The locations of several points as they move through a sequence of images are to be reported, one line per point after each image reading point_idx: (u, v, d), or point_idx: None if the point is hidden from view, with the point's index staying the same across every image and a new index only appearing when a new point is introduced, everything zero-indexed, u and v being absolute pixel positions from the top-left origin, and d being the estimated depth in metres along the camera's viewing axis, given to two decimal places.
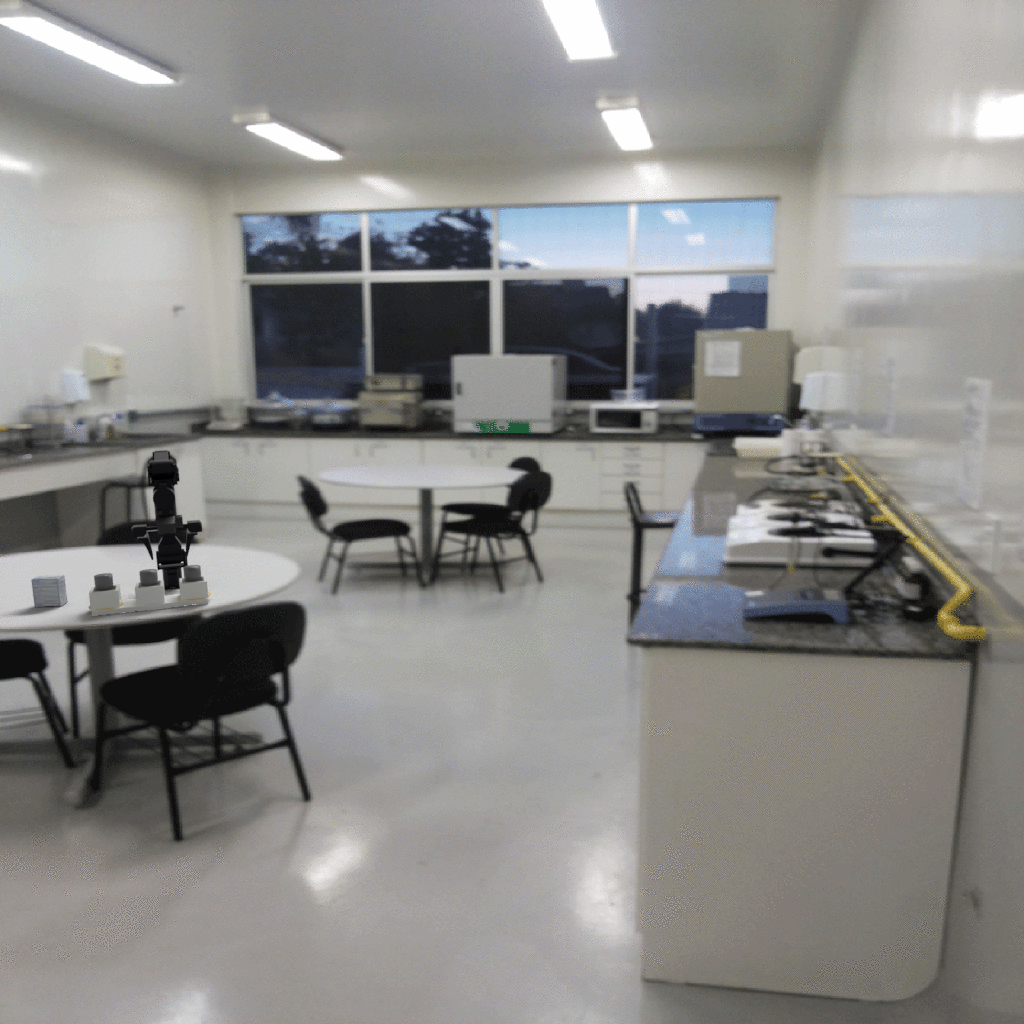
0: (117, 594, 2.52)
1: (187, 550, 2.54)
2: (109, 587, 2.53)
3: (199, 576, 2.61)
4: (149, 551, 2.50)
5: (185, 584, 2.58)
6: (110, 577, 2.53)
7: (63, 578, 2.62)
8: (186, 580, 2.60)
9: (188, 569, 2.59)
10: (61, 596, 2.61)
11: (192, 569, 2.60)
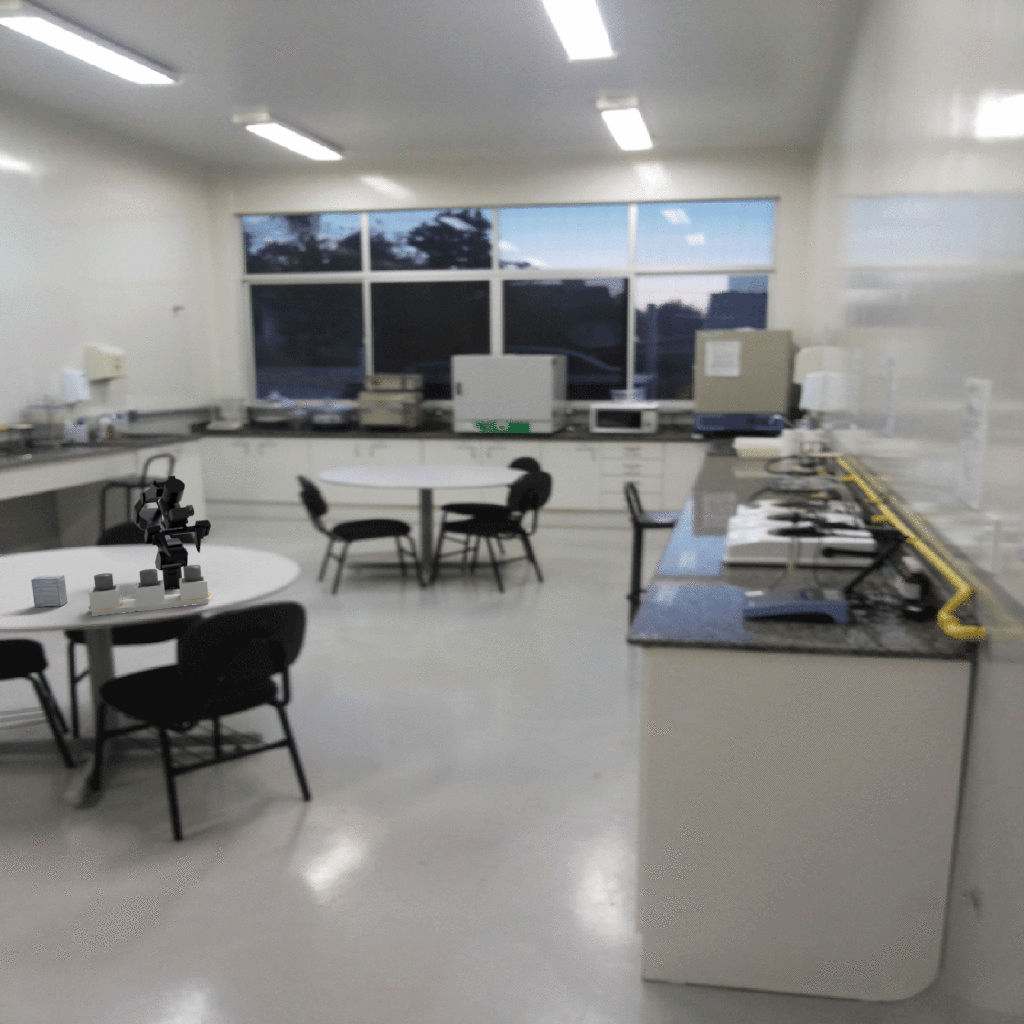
0: (117, 594, 2.52)
1: (199, 545, 2.69)
2: (109, 587, 2.53)
3: (199, 576, 2.61)
4: (166, 546, 2.64)
5: (185, 584, 2.58)
6: (110, 577, 2.53)
7: (63, 578, 2.62)
8: (186, 580, 2.60)
9: (188, 569, 2.59)
10: (61, 596, 2.61)
11: (192, 569, 2.60)
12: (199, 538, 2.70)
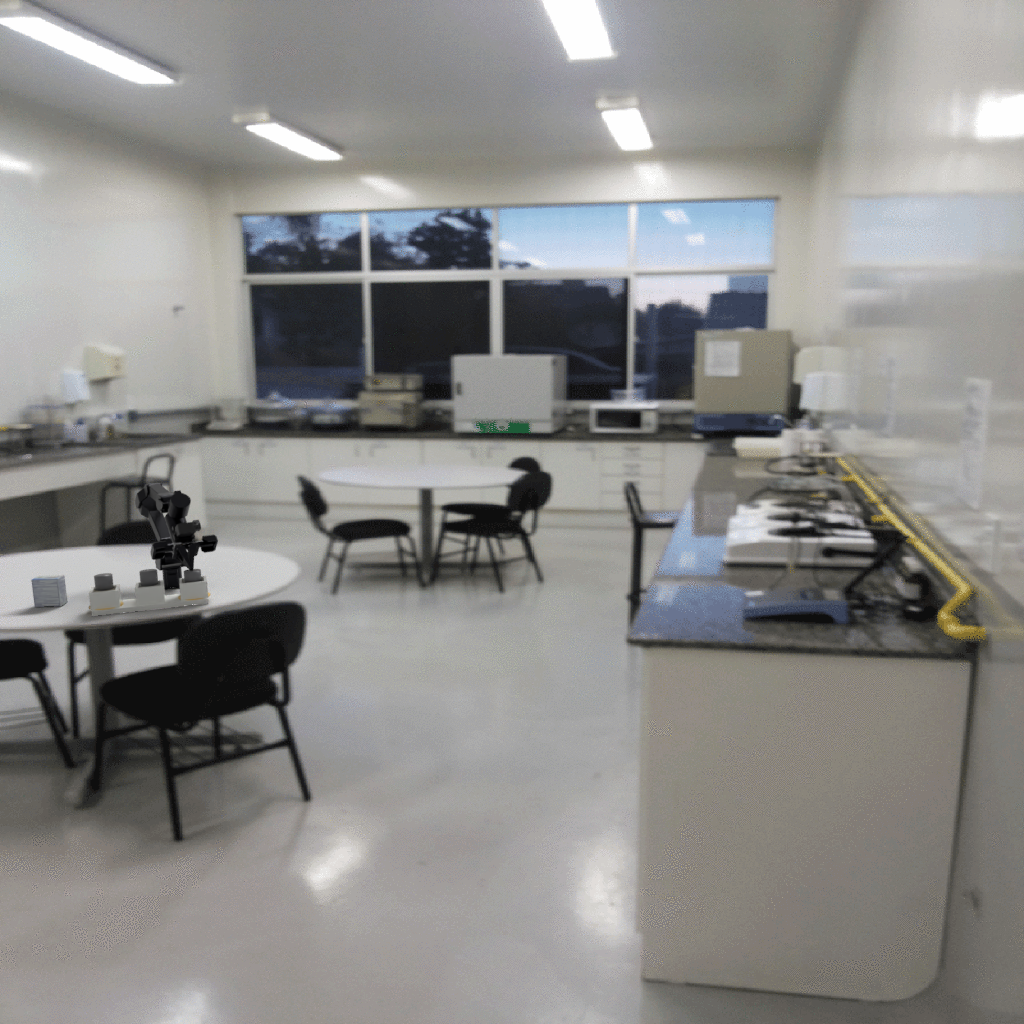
0: (117, 594, 2.52)
1: (192, 562, 2.62)
2: (109, 587, 2.53)
3: (199, 580, 2.62)
4: (187, 560, 2.62)
5: (185, 584, 2.58)
6: (110, 577, 2.53)
7: (63, 578, 2.62)
8: None
9: (188, 573, 2.60)
10: (61, 596, 2.61)
11: (192, 573, 2.60)
12: (192, 555, 2.63)
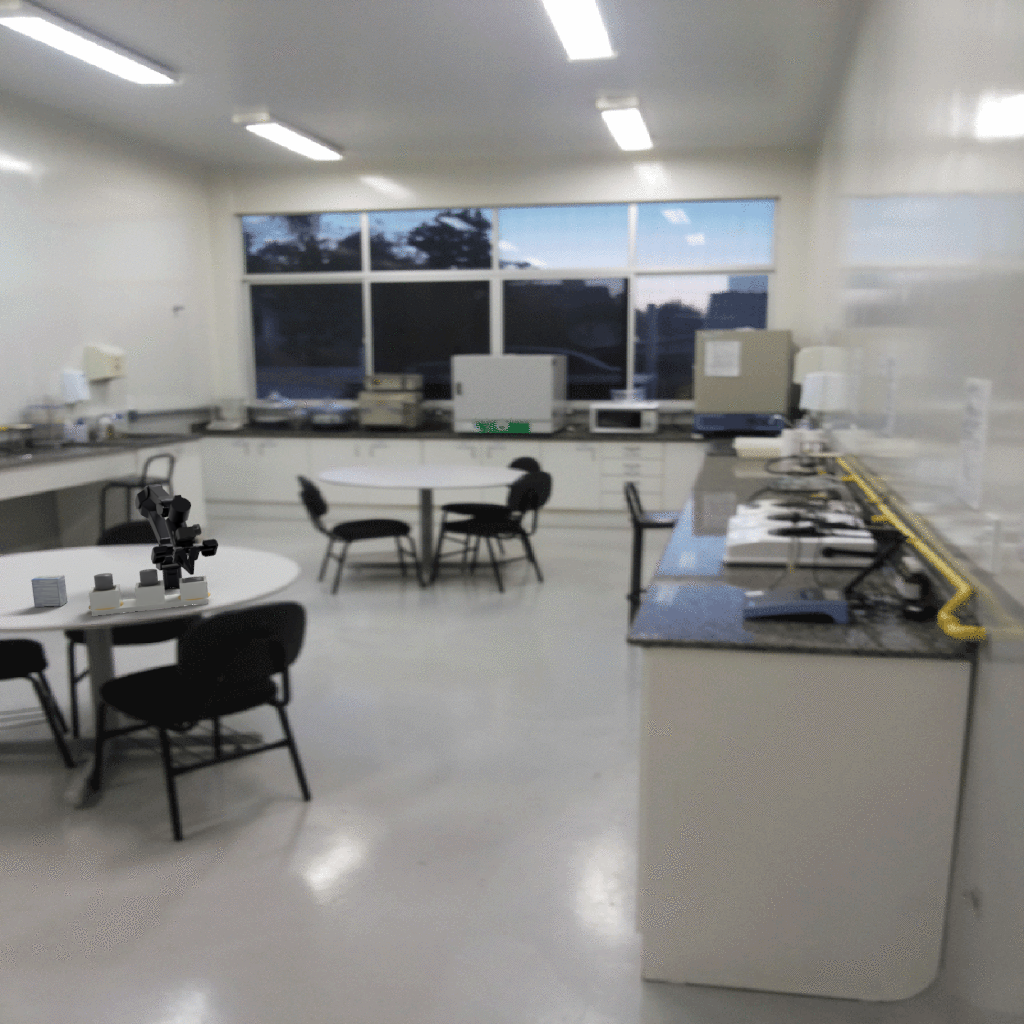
0: (117, 594, 2.52)
1: (192, 566, 2.63)
2: (109, 587, 2.53)
3: None
4: (187, 565, 2.62)
5: (185, 584, 2.58)
6: (110, 577, 2.53)
7: (63, 578, 2.62)
8: None
9: (189, 581, 2.60)
10: (61, 596, 2.61)
11: (193, 581, 2.60)
12: (193, 559, 2.64)
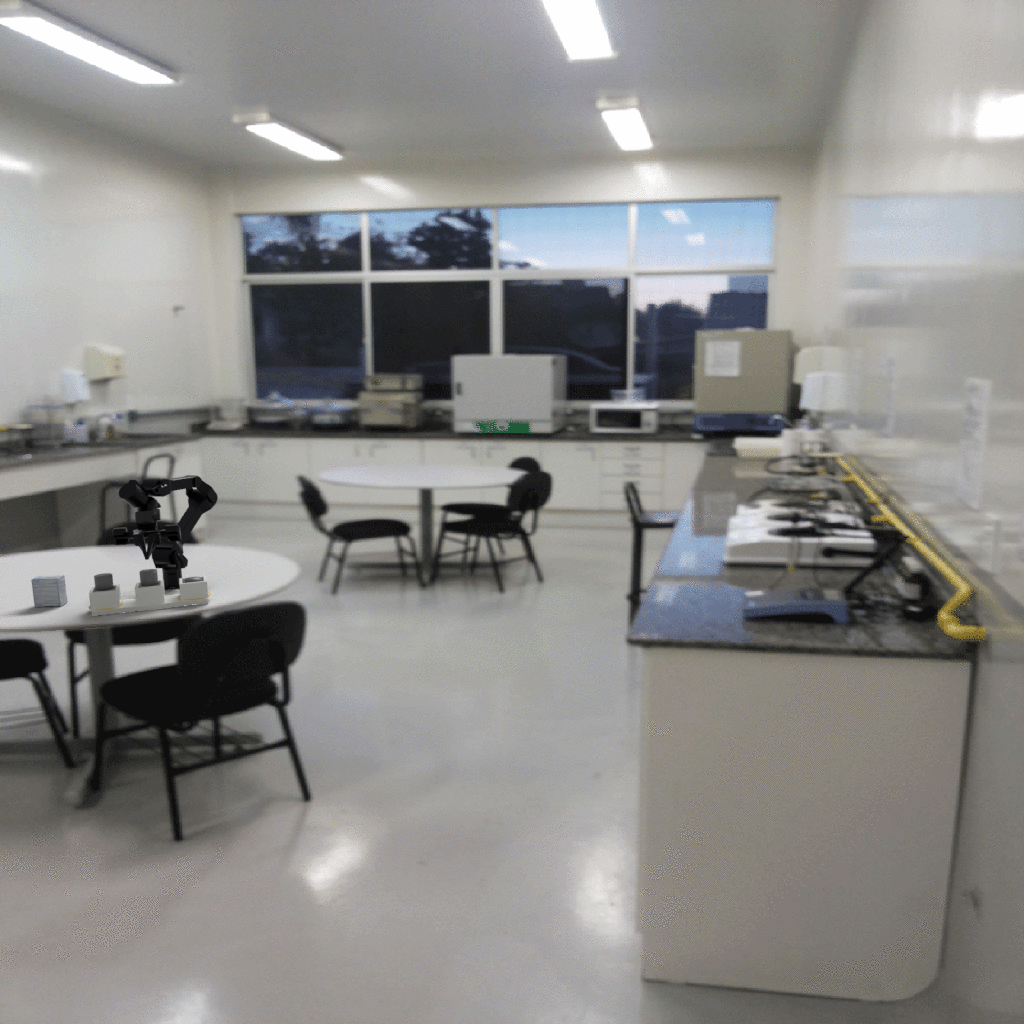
0: (117, 594, 2.52)
1: (148, 551, 2.60)
2: (109, 587, 2.53)
3: None
4: (143, 549, 2.60)
5: (185, 584, 2.58)
6: (110, 577, 2.53)
7: (63, 578, 2.62)
8: None
9: (189, 581, 2.60)
10: (61, 596, 2.61)
11: (193, 581, 2.60)
12: (150, 544, 2.61)
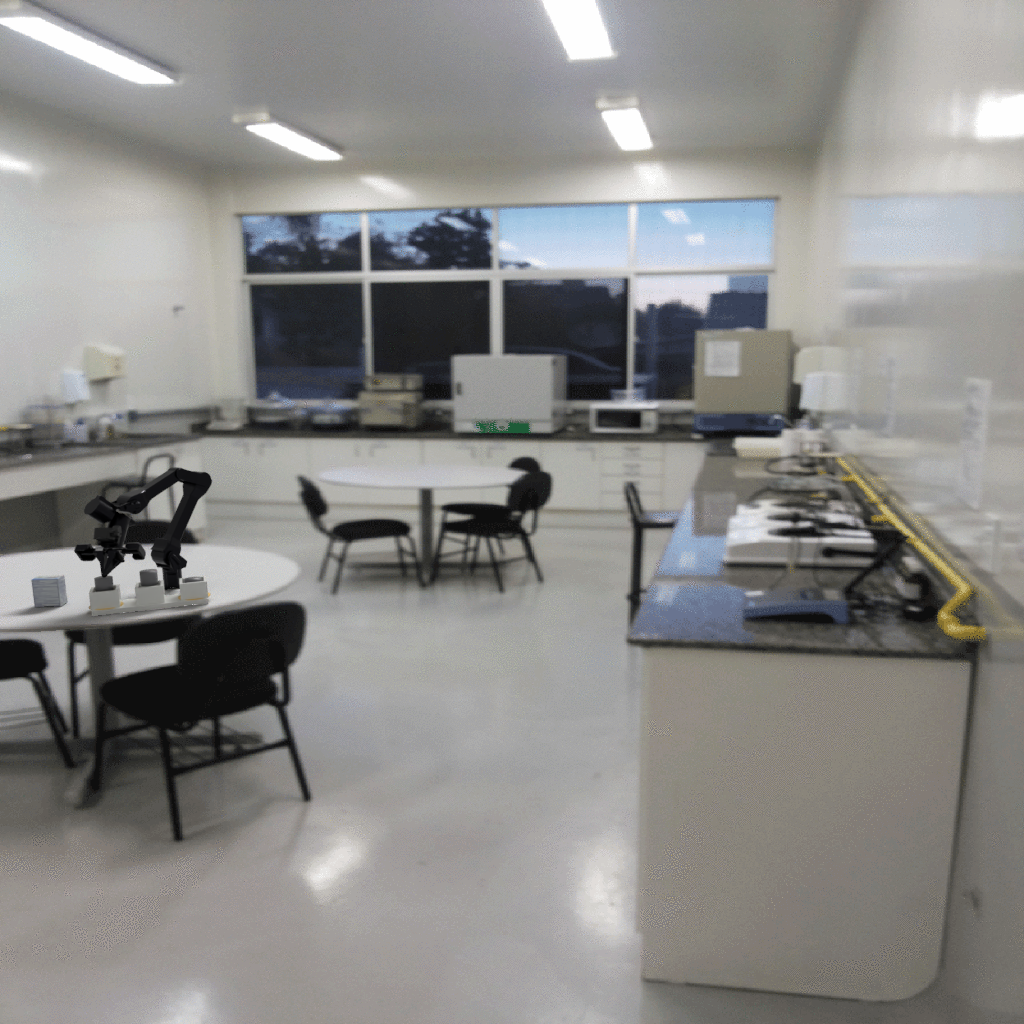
0: (117, 594, 2.52)
1: (105, 569, 2.54)
2: (109, 589, 2.53)
3: None
4: (101, 566, 2.54)
5: (185, 584, 2.58)
6: (110, 579, 2.53)
7: (63, 578, 2.62)
8: None
9: (189, 581, 2.60)
10: (61, 596, 2.61)
11: (193, 581, 2.60)
12: (108, 562, 2.55)
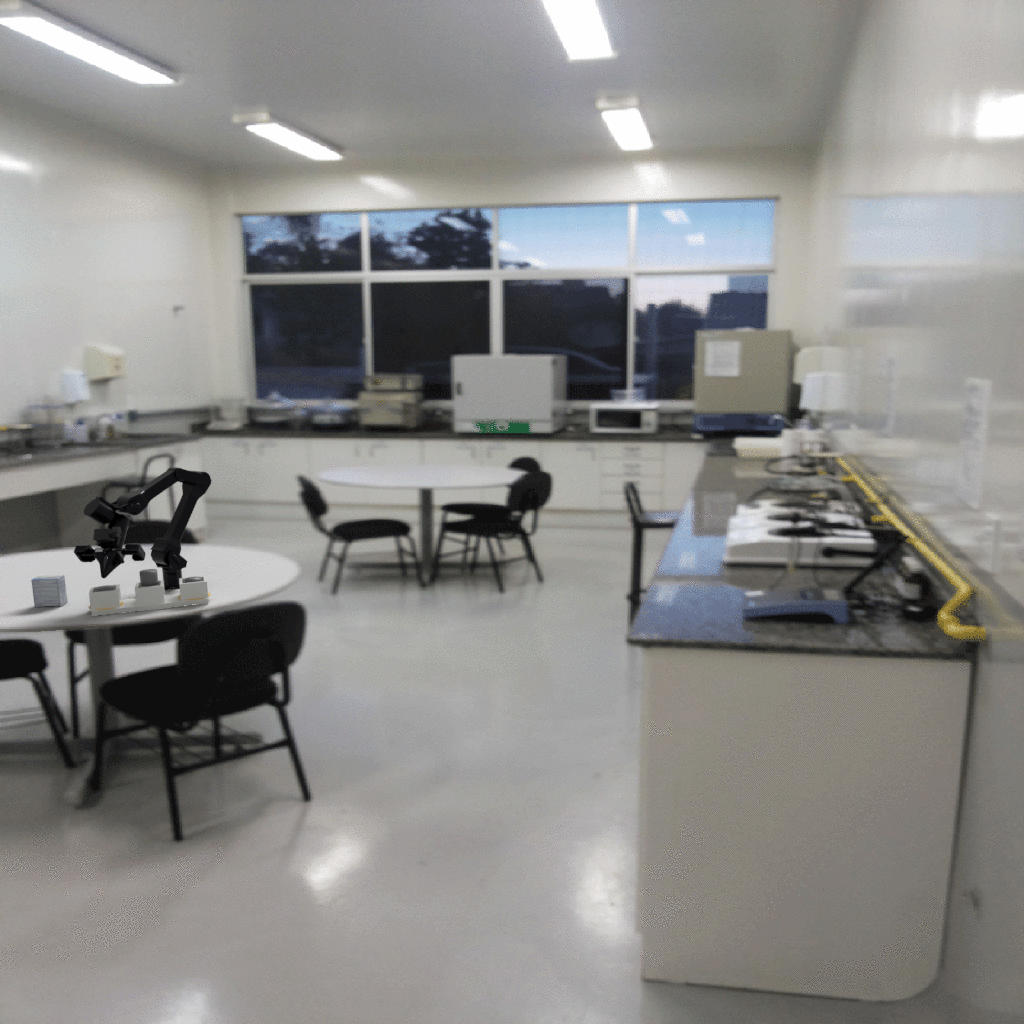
0: (117, 594, 2.52)
1: (105, 570, 2.54)
2: None
3: None
4: (101, 567, 2.54)
5: (185, 584, 2.58)
6: (111, 589, 2.54)
7: (63, 578, 2.62)
8: None
9: (189, 581, 2.60)
10: (61, 596, 2.61)
11: (193, 581, 2.60)
12: (108, 563, 2.55)
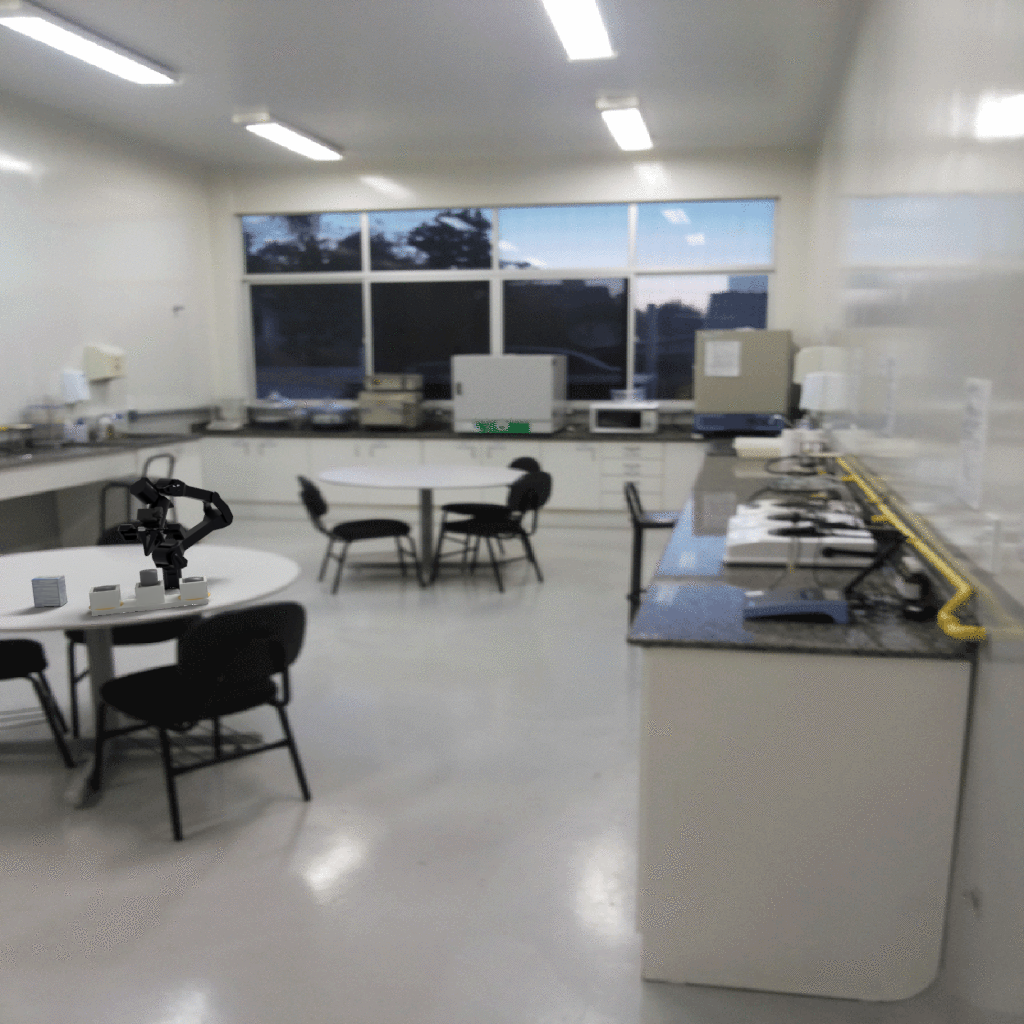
0: (117, 594, 2.52)
1: (148, 548, 2.64)
2: None
3: None
4: (144, 546, 2.65)
5: (185, 584, 2.58)
6: (111, 589, 2.54)
7: (63, 578, 2.62)
8: None
9: (189, 581, 2.60)
10: (61, 596, 2.61)
11: (193, 581, 2.60)
12: (151, 541, 2.65)
